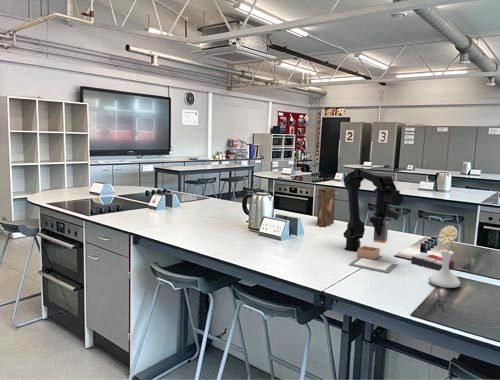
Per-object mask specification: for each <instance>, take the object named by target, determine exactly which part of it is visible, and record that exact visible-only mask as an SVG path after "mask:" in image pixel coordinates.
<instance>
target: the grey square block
mask: <svg viewBox="0 0 500 380" xmlns="http://www.w3.org/2000/svg"><path fill="white" fill-rule="evenodd" d="M385 222H386V223H385V224H384V225H383V227H382V231H381V235H380V236H378V235H377V233H376V230H375V228H374V227H373V229H374V231H373V242H374V243H381V244H386V243H387V242H388V231H389V230H388V229H389V221H388V220H385Z"/></svg>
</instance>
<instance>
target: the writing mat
mask: <svg viewBox="0 0 500 380" xmlns="http://www.w3.org/2000/svg"><path fill="white" fill-rule="evenodd" d="M348 266H351V267H355V268H360V269H363V270H364V269H365V270H369V271H374V272H375V271H376V272H379V273H384V274H390V273H391V272H392V271H393V270H394V269H395V268H397V266H398V264H396V263H391V262H385V261H382V260H381V261H380V260H377V259H375V260H371V259H366V258H361V257H357V258H355V259H354V260H353V261H351V262H350V263H349V264H348Z"/></svg>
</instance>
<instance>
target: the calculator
mask: <svg viewBox="0 0 500 380" xmlns="http://www.w3.org/2000/svg"><path fill="white" fill-rule="evenodd" d="M410 263H411V264H412V265H416V266H420V267H424V268H427V269H431V270H435V271H437V272H438V271H439V270H441V268H442V264H443V258H442V256H439V255H435V254H430V253H426V252H420V253H418V254H416V255H413V256H412V257H411V261H410ZM452 267H453V268H454V267H455V261H454V260H453V259H450V260H449V270H452V269H453V268H452Z"/></svg>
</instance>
